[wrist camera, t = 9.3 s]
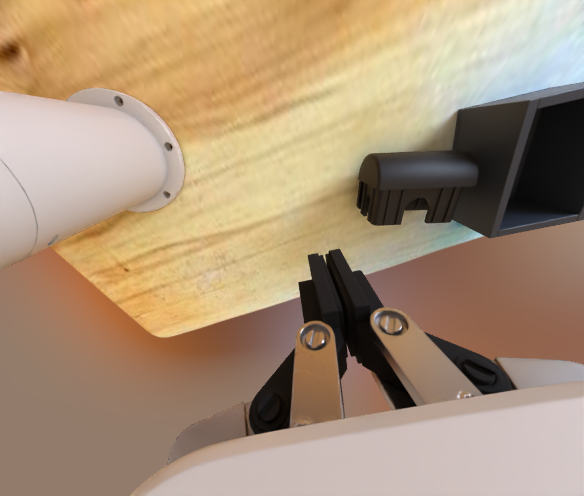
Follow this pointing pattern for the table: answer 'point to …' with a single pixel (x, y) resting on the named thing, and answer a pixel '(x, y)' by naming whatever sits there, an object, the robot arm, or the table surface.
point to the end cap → (414, 184)
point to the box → (524, 161)
